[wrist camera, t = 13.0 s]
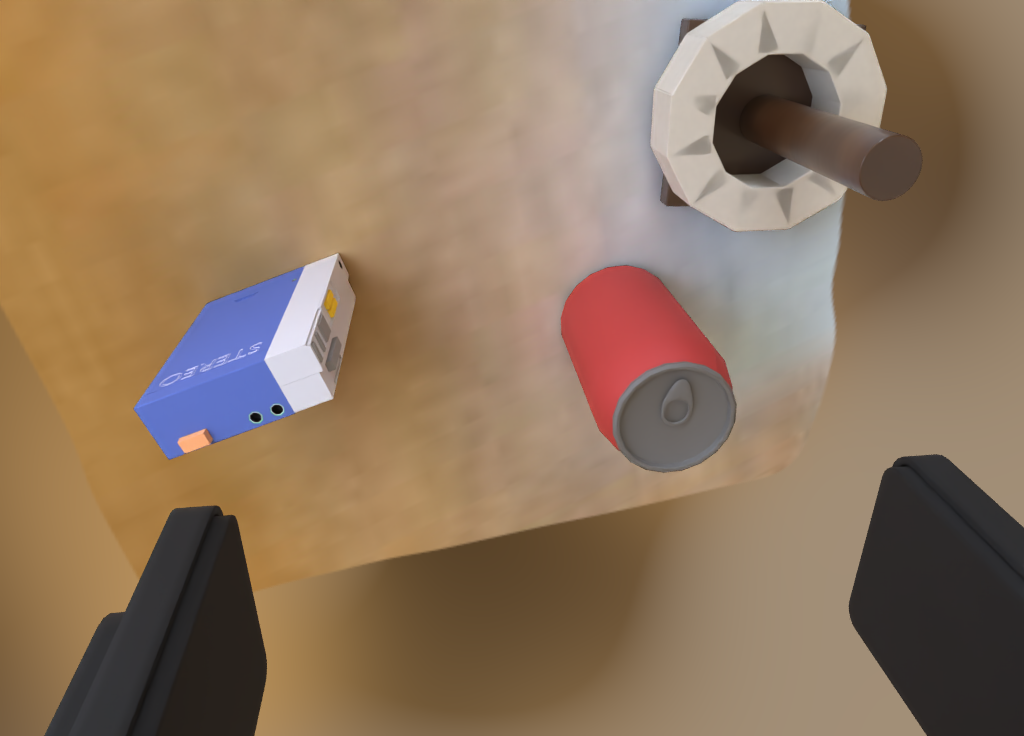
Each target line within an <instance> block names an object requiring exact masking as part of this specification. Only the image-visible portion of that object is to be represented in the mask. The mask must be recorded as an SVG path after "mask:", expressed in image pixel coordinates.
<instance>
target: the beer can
mask: <svg viewBox="0 0 1024 736" xmlns="http://www.w3.org/2000/svg"><path fill="white" fill-rule="evenodd" d="M561 333H562V337H563V339H564V342H565V344H566V347H567V350H568V352H569V355H570V357H571V360H572V362H573V365H574V367H575V370H576V373H577V375H578V378H579V380H580V383H581V385H582V388H583V390H584V393H585V395H586V398H587V401H588V403H589V406H590V408H591V411H592V413H593V416H594V418H595V421H596V423H597V426H598V428H599V430H600V432H601V433H602V434H603V435H604V436H605V437H606V438H607V439H608V440H609V441H610V442H611V443H612V444H613V445H614V446H615V447H616V448H617V450H619V451H621V452H622V453H623V455H624V456H625V457H626V458H627V459H628V460H629V461H630V462H632V463H634V464H635V465H637V466H639V467H641V468H643V469H645V470H651V471H657V472H663V473H664V472H673V471H682V470H685V469H687V468H690V467H692V466H695V465H698V464H700V463H702V462H703V461H705V460H706V459H707V458H709V457H710V456H712V455H713V454H714V453H716V452H717V451H718V449H719V448H720V447H721V446H722V445H723V443H724V442H725V441H726V440H727V439H728V437H729V435H730V432H731V430H732V428H733V425H734V423H735V417H736V401H735V398H734V394H733V391H732V384H731V380H730V377H729V373H728V370H727V367H726V363H725V361H724V359H723V358H722V357H721V355H720V354H719V353H718V352H717V350H716V349H715V348H714V347H713V345H712V344H711V343H710V342H709V340H708V339H707V338H706V337H705V335H704V334H703V333H702V332H701V330H700V329H699V328H698V327H697V325H696V324H695V323H694V322H693V320H692V319H691V318H690V317H689V315H688V314H687V313H686V312H685V310H684V309H683V308H682V307H681V306H680V304H679V303H678V302H677V301H676V299H675V298H674V297H673V296H672V294H671V293H670V292H669V291H668V289H667V288H666V287H665V286H664V284H663V283H662V282H661V281H660V279H659V278H658V277H656V276H654V275H653V274H651V273H649V272H648V271H646V270H644V269H641V268H636V267H632V266H627V265H626V266H615V267H607V268H605V269H603V270H600V271H598V272H595V273H593V274H591V275H589V276H588V277H587V278H586V279H584V280H583V281H582V282H581V283H579V284H578V285H577V286H576V287H575V289H574V290H573V291H572V293H571V294H570V296H569V297H568V299H567V300H566V302H565V306H564V309H563V312H562V316H561Z"/></svg>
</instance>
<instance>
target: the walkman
mask: <svg viewBox="0 0 1024 736" xmlns="http://www.w3.org/2000/svg"><path fill="white" fill-rule="evenodd" d="M348 278H349V274H348V272H347V270H346V268H345V265H344V263H343V261H342V259H341V257H340V255H339V253H337V254H335V255H332V256H329V257H327V258H324V259H321V260H319V261H316V262H314V263H311V264H308V265H306V266H303V267H301V268H298V269H296V270H293V271H290V272H288V273H285V274H283V275H280V276H277V277H275V278H272V279H269V280H267V281H264V282H262V283H259V284H256V285H254V286H251V287H249V288H246V289H243V290H241V291H238V292H235V293H233V294H230V295H228V296H225V297H222V298H220V299H217V300H215V301H212V302H209V303H207V304H206V305H205V307H204V308H203V310H202V311H201V313H200V314H199V315H198V317H197V318H196V320H195V321H194V323H193V324H192V325H191V327H190V328H189V330H188V331H187V333H186V334H185V335H184V337H183V338H182V340H181V341H180V343H179V344H178V346H177V347H176V348H175V350H174V351H173V353H172V354H171V356H170V357H169V358H168V360H167V361H166V363H165V364H164V366H163V367H162V368H161V370H160V371H159V373H158V374H157V376H156V377H155V379H154V380H153V381H152V383H151V384H150V386H149V387H148V389H147V390H146V391H145V393H144V394H143V396H142V397H141V399H140V400H139V401H138V403H137V404H136V406H135V407H134V410H135V412H136V413H137V414H138V416H139V417H140V419H141V420H142V422H143V423H144V425H145V426H146V427H147V429H148V430H149V432H150V433H151V435H152V436H153V438H154V439H155V440H156V442H157V443H158V445H159V446H160V448H161V449H162V451H163V452H164V453H165V455H166V456H167V458H168V459H169V460H170V459H173V458H175V457H178V456H181V455H183V454H186V453H189V452H192V451H194V450H197V449H200V448H203V447H205V446H208V445H211V444H213V443H216V442H219V441H222V440H224V439H227V438H230V437H232V436H235V435H238V434H241V433H243V432H246V431H249V430H252V429H254V428H257V427H260V426H262V425H265V424H268V423H271V422H273V421H276V420H279V419H281V418H284V417H287V416H290V415H292V414H295V413H296V412H299V411H301V410H304V409H307V408H309V407H312V406H315V405H318V404H320V403H323V402H326V401H328V400H331V399H333V397H334V393H335V389H336V384H337V380H338V375H339V371H340V367H341V362H342V358H343V353H344V349H345V344H346V340H347V336H348V331H349V327H350V322H351V318H352V314H353V309H354V305H355V300H356V296H355V294H354V292H353V290H352V288H351V286H350V284H349V282H348Z"/></svg>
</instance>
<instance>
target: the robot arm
mask: <svg viewBox="0 0 1024 736" xmlns="http://www.w3.org/2000/svg"><path fill="white" fill-rule="evenodd" d="M849 613H850V618H851V621H852V624H853V626H854V627H855V629H856V631H857V632H858V634H859V635H860V637H861V638H862V640H863V641H864V643H865V644H866V646H867V647H868V649H869V650H870V652H871V653H872V655H873V656H874V658H875V659H876V660H877V662H878V663H879V665H880V667H881V668H882V669H883V671H884V672H885V674H886V675H887V677H888V678H889V680H890V681H891V683H892V684H893V686H894V687H895V689H896V690H897V692H898V693H899V695H900V696H901V698H902V699H903V701H904V702H905V704H906V705H907V706H908V708H909V710H910V711H911V712H912V714H913V715H914V717H915V719H916V720H917V721H918V723H919V724H920V726H921V727H922V729H923V730H924V732H925V733H926V735H927V736H1024V528H1023V527H1022V526H1021V525H1020V524H1019V523H1018V522H1017V521H1016V520H1015V519H1014V518H1012V517H1011V516H1010V515H1009V514H1008V513H1007V512H1006V511H1005V510H1004V509H1003V508H1001V507H1000V506H999V505H998V504H997V503H996V502H995V501H994V500H993V499H991V498H990V497H989V496H988V495H987V494H986V493H985V492H984V491H983V490H981V489H980V488H979V487H978V486H977V485H976V484H975V483H974V482H973V481H972V480H971V479H969V478H968V477H967V476H966V475H965V474H964V473H963V472H962V471H961V470H959V469H958V468H957V467H956V466H955V465H954V464H953V463H952V462H951V461H950V460H948V459H947V458H946V457H944V456H942V455H937V454H936V455H924V456H908V457H901V458H898V459H897V460H896V461H895V462H894V464H893V466H892V467H891V468H888V469H887V470H886V471H885V472H884V474H883V476H882V480H881V484H880V487H879V491H878V495H877V499H876V503H875V506H874V510H873V514H872V518H871V521H870V525H869V529H868V533H867V537H866V540H865V544H864V548H863V552H862V555H861V559H860V563H859V567H858V571H857V574H856V578H855V583H854V586H853V590H852V593H851V597H850V601H849ZM266 674H267V660H266V653H265V648H264V643H263V639H262V634H261V629H260V625H259V621H258V615H257V611H256V606H255V601H254V597H253V592H252V587H251V583H250V578H249V573H248V569H247V564H246V559H245V555H244V550H243V545H242V541H241V536H240V531H239V527H238V523H237V519H236V517H235V516H234V515H227V516H223V513H222V510H221V509H220V507H219V506H202V507H188V508H176V509H174V510H172V512H171V513H170V515H169V517H168V519H167V521H166V524H165V526H164V528H163V530H162V532H161V535H160V537H159V539H158V541H157V543H156V545H155V548H154V550H153V552H152V554H151V556H150V559H149V561H148V563H147V565H146V567H145V569H144V572H143V574H142V576H141V578H140V580H139V583H138V585H137V587H136V589H135V591H134V593H133V596H132V598H131V600H130V602H129V604H128V607H127V609H126V611H125V612H121V613H110V614H109V615H107V616H106V617H105V618H103V620H102V621H101V623H100V624H99V626H98V627H97V629H96V631H95V633H94V636H93V637H92V639H91V642H90V644H89V646H88V648H87V650H86V652H85V654H84V656H83V658H82V660H81V662H80V664H79V666H78V668H77V670H76V672H75V674H74V676H73V678H72V680H71V682H70V685H69V686H68V689H67V690H66V693H65V695H64V697H63V699H62V701H61V703H60V705H59V707H58V709H57V711H56V713H55V715H54V717H53V719H52V721H51V723H50V725H49V727H48V729H47V732H46V733H45V735H44V736H254V734H255V730H256V725H257V720H258V715H259V711H260V706H261V702H262V697H263V692H264V687H265V682H266Z"/></svg>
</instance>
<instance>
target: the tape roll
mask: <svg viewBox="0 0 1024 736" xmlns="http://www.w3.org/2000/svg"><path fill="white" fill-rule="evenodd" d="M767 55H785V56H787V57H788V58H790V59H791V60H793V61H794V62H795V63H797V64H798V65H800V66H801V67H802V69H803V72H804V75H805V77H806V80H807V83H808V85H809V88H810V91H811V93H812V96H813V97H812V103H811V107H812V108H815V109H819V110H822V111H825V112H829V113H832V114H835V115H839V116H842V117H845V118H848V119H852V120H855V121H858V122H862V123H865V124H868V125H871V126H875V127H878V128H880V124H881V118H882V113H883V108H884V103H885V98H886V93H887V87H886V84H885V81H884V78H883V74H882V71H881V68H880V66H879V62H878V59H877V56H876V53H875V50H874V47H873V44H872V41H871V38H870V35H869V34H868V33H867V32H866V31H865V30H863V29H862V28H860V27H859V26H858V25H856V24H855V23H853V22H852V21H851V20H849V19H848V18H847V17H845V16H844V15H842V14H841V13H840V12H838V11H837V10H835V9H834V8H833V7H831V6H830V5H829V4H827V3H826V2H824V1H821V0H744V1H737V2H735V3H734V4H732V5H731V6H729V7H728V8H726V9H724V10H723V11H721V12H720V13H718V14H716V15H715V16H713V17H712V18H710V19H709V20H707V21H705V22H704V23H702V24H701V25H699V26H698V27H696V28H694V29H693V30H691V31H690V32H688V33H687V35H685V37H684V38H683V40H682V42H681V43H680V45H679V47H678V48H677V50H676V52H675V54H674V55H673V57H672V59H671V60H670V62H669V64H668V65H667V67H666V69H665V71H664V72H663V74H662V76H661V77H660V79H659V81H658V82H657V84H656V86H655V88H654V95H653V111H652V126H651V141H650V146H651V149H652V151H653V153H654V155H655V157H656V159H657V161H658V163H659V165H660V167H661V169H662V171H663V173H664V175H665V177H666V179H667V181H668V183H669V185H670V187H671V189H672V191H673V192H674V193H675V194H676V195H677V196H679V197H680V198H681V199H682V200H683V201H685V202H686V203H687V204H688V205H690V206H691V207H692V208H694V209H696V210H698V211H699V212H701V213H703V214H705V215H706V216H708V217H710V218H711V219H713V220H715V221H717V222H718V223H720V224H722V225H724V226H725V227H727V228H729V229H731V230H732V231H735V232H740V231H763V230H786V229H789V228H791V227H793V226H795V225H797V224H798V223H800V222H802V221H804V220H805V219H807V218H809V217H811V216H812V215H814V214H816V213H817V212H819V211H821V210H823V209H824V208H826V207H828V206H830V205H831V204H833V203H835V202H837V201H838V200H840V199H841V197H842V196H843V194H844V193H845V192H846V190H847V189H848V187H846V186H844V185H842V184H840V183H838V182H835V181H833V180H831V179H829V178H827V177H825V176H823V175H820V174H818V173H816V172H814V171H812V170H810V169H808V168H805V167H803V166H801V165H799V164H797V163H795V162H793V161H791V160H788V159H785V160H783V161H781V162H780V163H778V164H776V165H775V166H773V167H771V168H769V169H768V170H766V171H764V172H763V173H761V174H739V175H730V174H729V173H727V172H726V171H725V169H724V167H723V165H722V163H721V160H720V158H719V156H718V154H717V152H716V149H715V147H714V145H713V134H714V124H715V114H716V106H717V104H718V103H719V101H720V100H721V98H722V96H723V95H724V93H725V92H726V90H727V88H728V87H729V85H730V84H731V82H732V81H733V79H734V77H735V76H736V75H737V74H738V73H740V72H741V71H743V70H745V69H746V68H748V67H750V66H751V65H753V64H754V63H756V62H758V61H759V60H761V59H762V58H764V57H766V56H767Z"/></svg>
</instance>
